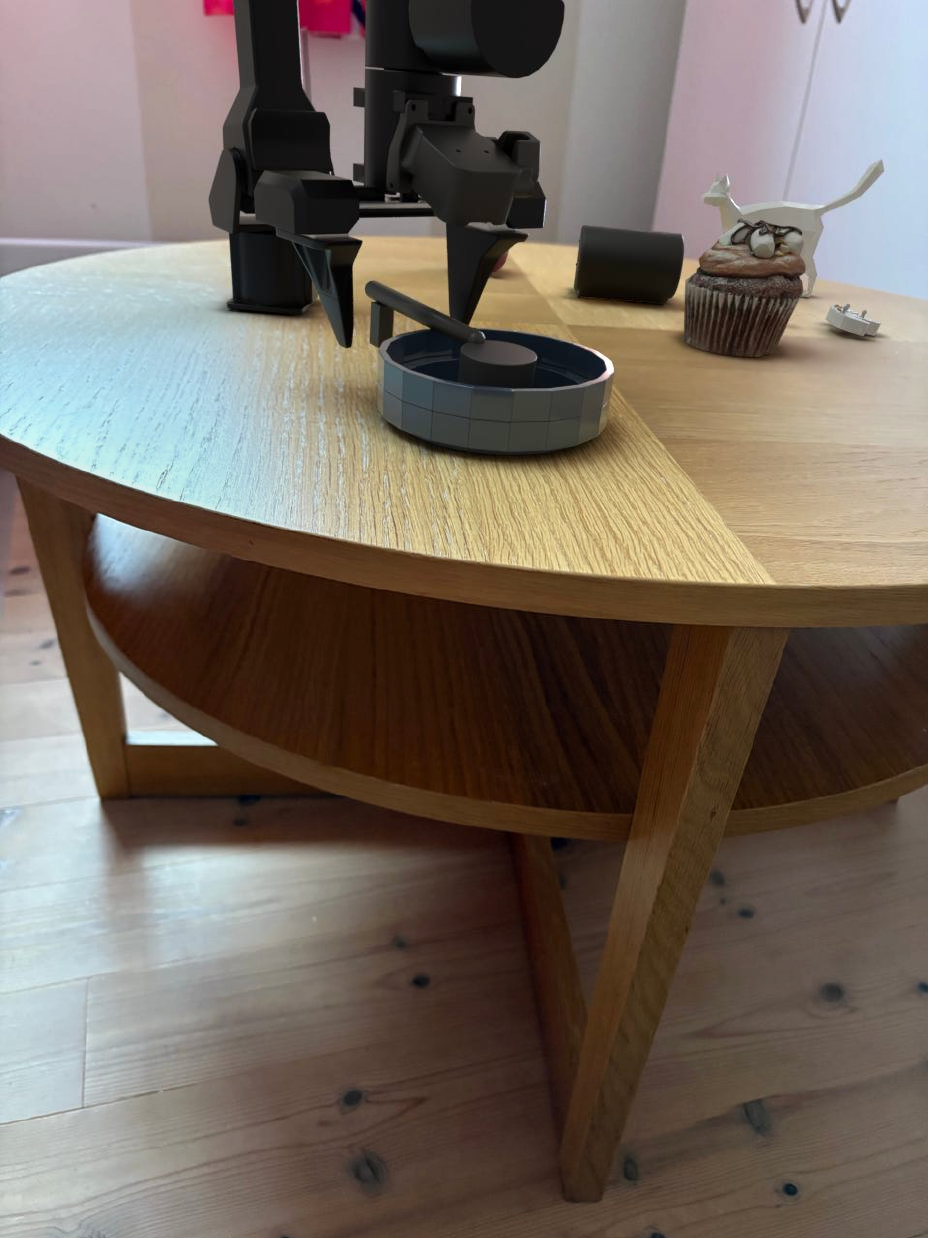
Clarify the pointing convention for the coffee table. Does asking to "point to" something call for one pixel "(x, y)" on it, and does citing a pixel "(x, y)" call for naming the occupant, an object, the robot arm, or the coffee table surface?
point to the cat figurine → (787, 213)
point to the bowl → (494, 395)
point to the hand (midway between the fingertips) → (404, 340)
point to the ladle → (477, 354)
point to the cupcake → (745, 290)
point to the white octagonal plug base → (851, 320)
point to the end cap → (628, 264)
